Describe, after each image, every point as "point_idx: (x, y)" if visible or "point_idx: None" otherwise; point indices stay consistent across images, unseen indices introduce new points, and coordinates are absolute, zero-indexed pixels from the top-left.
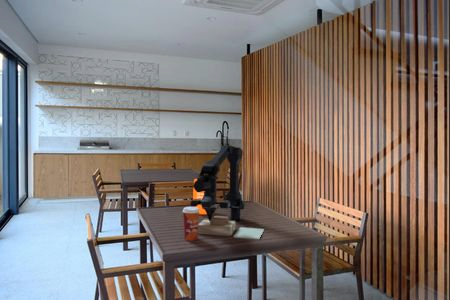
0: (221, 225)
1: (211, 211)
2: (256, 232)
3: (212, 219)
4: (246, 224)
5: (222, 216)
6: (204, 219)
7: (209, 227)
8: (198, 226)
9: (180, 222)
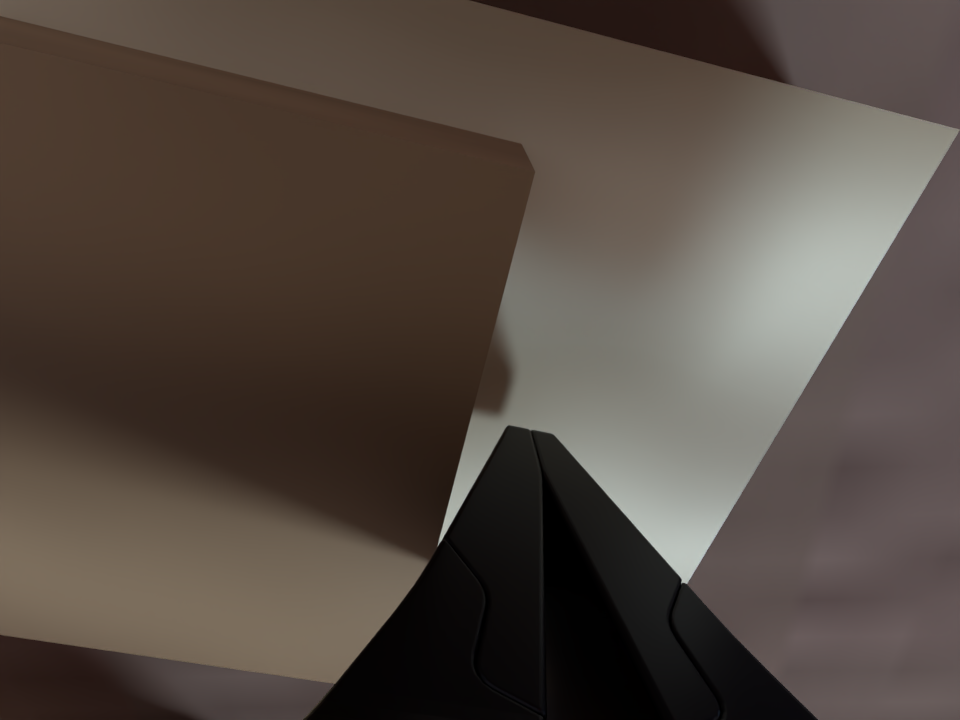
0: (87, 37)
1: (473, 713)
2: None
3: (424, 269)
4: (5, 637)
5: (161, 632)
6: None
7: (532, 20)
8: (892, 118)
9: (936, 694)
